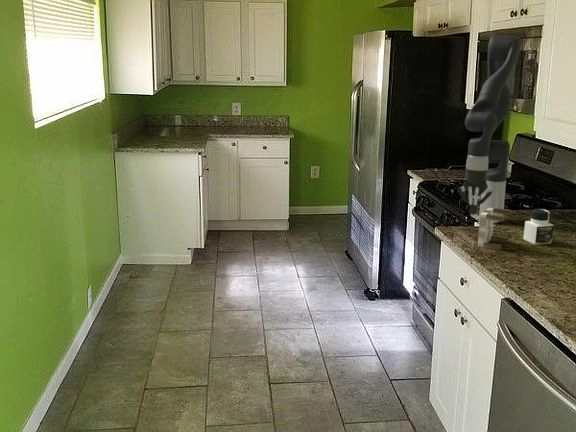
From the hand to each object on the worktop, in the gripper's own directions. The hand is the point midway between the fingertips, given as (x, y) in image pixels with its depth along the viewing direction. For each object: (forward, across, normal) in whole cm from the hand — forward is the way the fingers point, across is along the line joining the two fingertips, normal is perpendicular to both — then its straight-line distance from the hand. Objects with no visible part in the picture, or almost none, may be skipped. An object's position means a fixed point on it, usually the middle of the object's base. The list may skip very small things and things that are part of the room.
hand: (472, 214), depth 223 cm
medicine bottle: (+10, -21, -12) cm, 26 cm away
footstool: (+10, -8, 0) cm, 13 cm away
